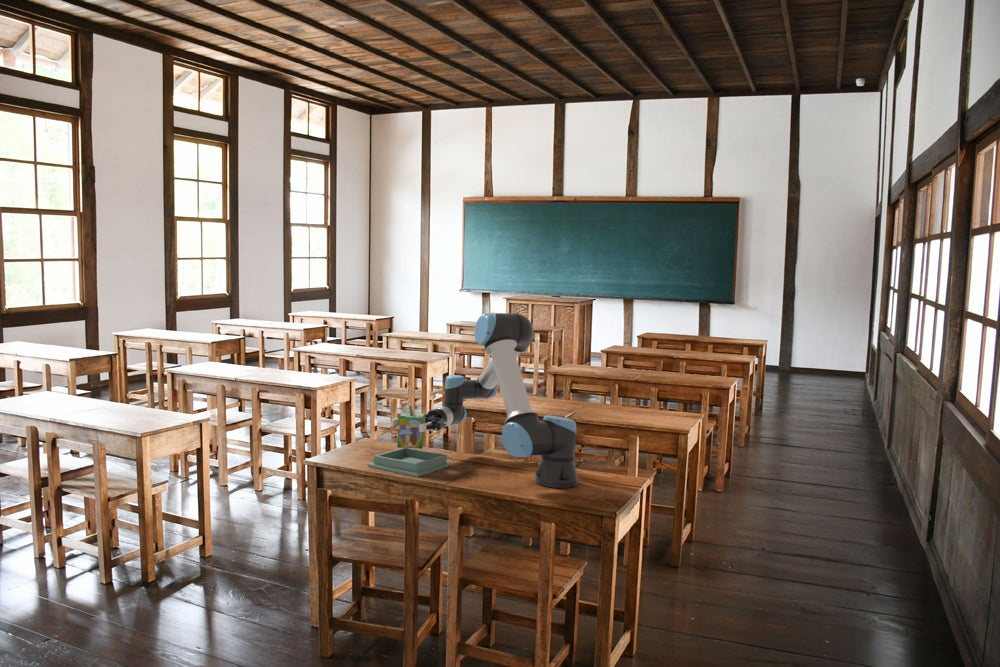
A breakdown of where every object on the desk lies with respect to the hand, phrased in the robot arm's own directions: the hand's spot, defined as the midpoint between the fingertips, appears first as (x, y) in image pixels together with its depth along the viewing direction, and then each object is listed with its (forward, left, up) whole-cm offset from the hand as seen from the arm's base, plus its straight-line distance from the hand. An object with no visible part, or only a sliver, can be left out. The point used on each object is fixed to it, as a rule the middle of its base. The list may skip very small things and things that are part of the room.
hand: (405, 425), depth 271 cm
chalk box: (0, -4, -8) cm, 9 cm away
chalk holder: (0, -4, -15) cm, 16 cm away
